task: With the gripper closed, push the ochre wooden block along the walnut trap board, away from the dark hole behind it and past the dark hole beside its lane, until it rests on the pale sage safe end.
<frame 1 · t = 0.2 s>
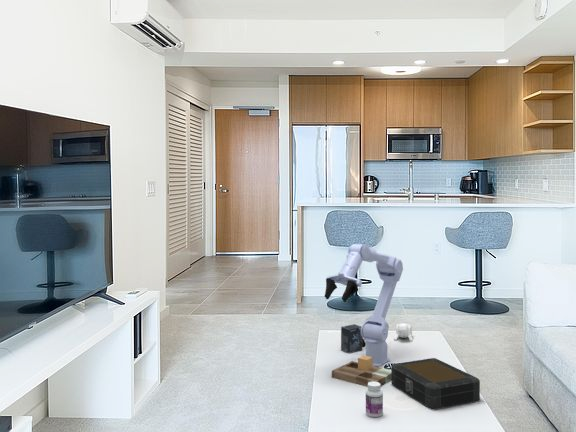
hand: (334, 298, 189), 31 cm above the table, tool tilted 45°, fingers open, 7 cm apart
sunglasses case: (353, 342, 240), on the table, touching box
white rounded figure: (403, 339, 244), on the table
block: (365, 368, 197), point 2 cm above the table, touching trap board
box: (351, 350, 227), on the table, touching sunglasses case
trap board: (363, 377, 194), on the table
cash box: (432, 393, 179), on the table
pill bottle: (374, 414, 162), on the table
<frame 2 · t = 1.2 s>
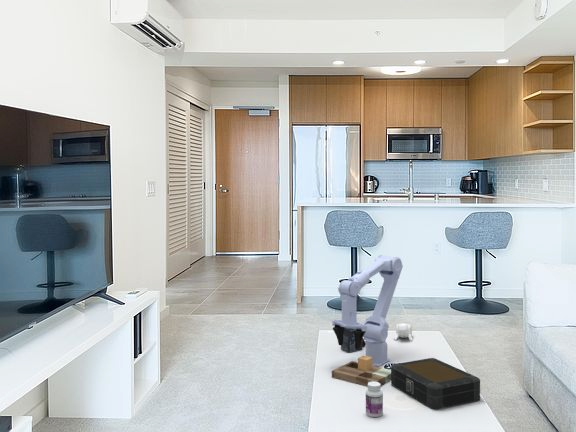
hand: (349, 346, 201), 10 cm above the table, tool pointing down, fingers open, 7 cm apart
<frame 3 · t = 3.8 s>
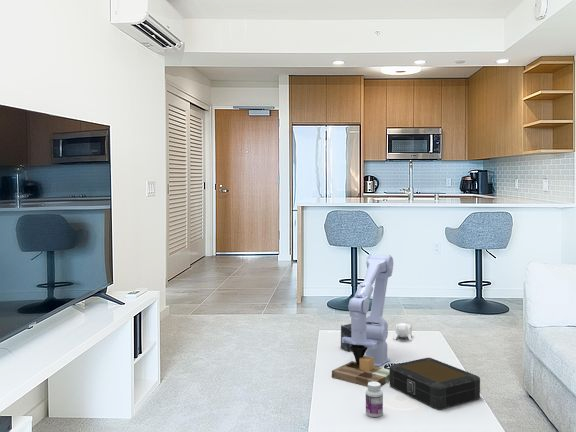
hand: (359, 364, 198), 4 cm above the table, tool pointing down, fingers closed
sunglasses case: (353, 341, 242), on the table, touching box
block: (366, 368, 196), point 2 cm above the table, touching gripper, trap board
box: (351, 349, 229), on the table, touching sunglasses case
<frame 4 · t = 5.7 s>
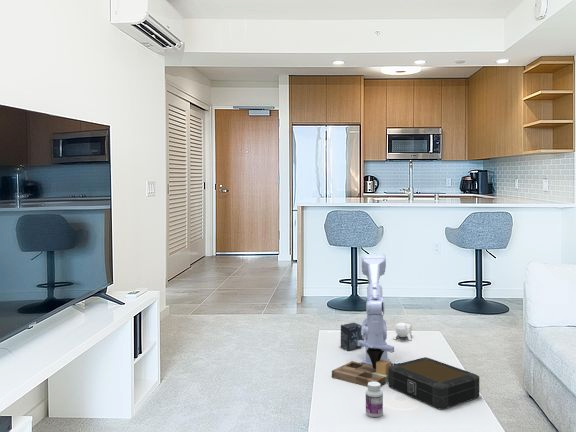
hand: (375, 367, 194), 4 cm above the table, tool pointing down, fingers closed
sunglasses case: (353, 340, 243), on the table, touching box
block: (383, 372, 192), point 2 cm above the table, touching gripper, trap board
box: (351, 348, 230), on the table, touching sunglasses case
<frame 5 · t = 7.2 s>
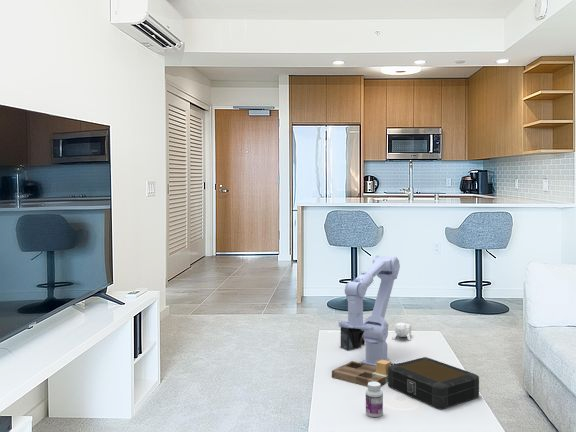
hand: (355, 347, 200), 9 cm above the table, tool pointing down, fingers closed
block: (383, 372, 192), point 2 cm above the table, touching trap board
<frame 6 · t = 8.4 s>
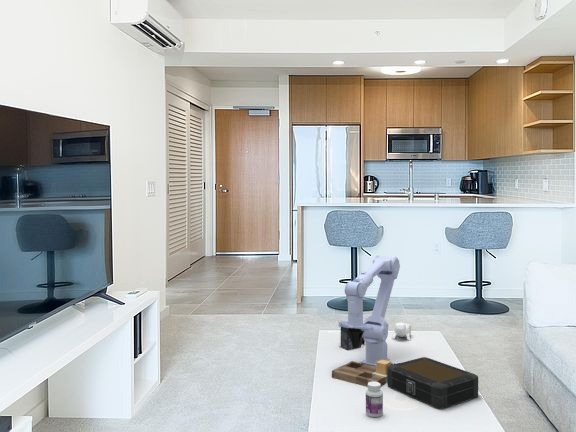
hand: (355, 347, 200), 9 cm above the table, tool pointing down, fingers closed
at the end: block 0.4 cm from the target spot on the trap board, point 2.5 cm above the trap board's base; block tilted 0°; block moved 7.9 cm from its start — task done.
